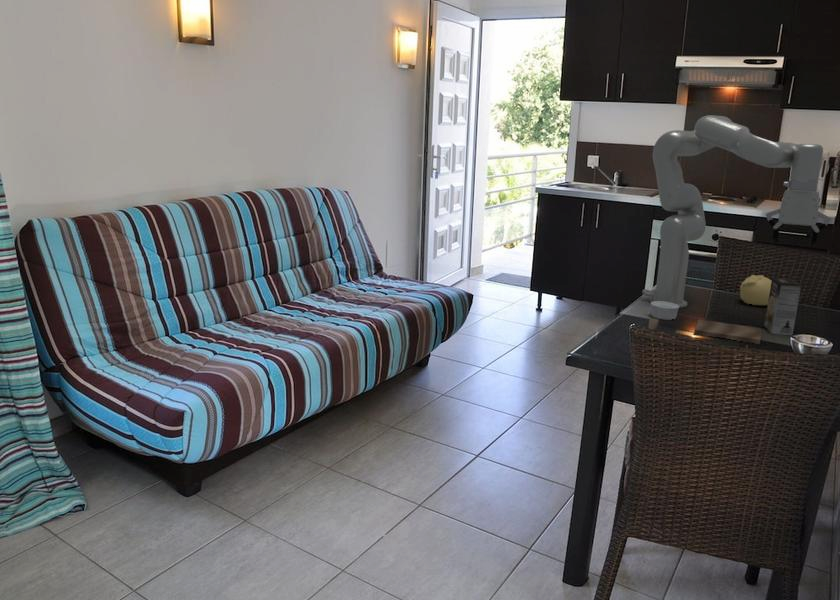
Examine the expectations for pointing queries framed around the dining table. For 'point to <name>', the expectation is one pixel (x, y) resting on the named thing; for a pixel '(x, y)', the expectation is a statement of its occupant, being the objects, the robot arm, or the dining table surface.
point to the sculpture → (755, 290)
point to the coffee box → (782, 306)
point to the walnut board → (728, 331)
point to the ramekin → (664, 310)
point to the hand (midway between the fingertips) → (793, 243)
